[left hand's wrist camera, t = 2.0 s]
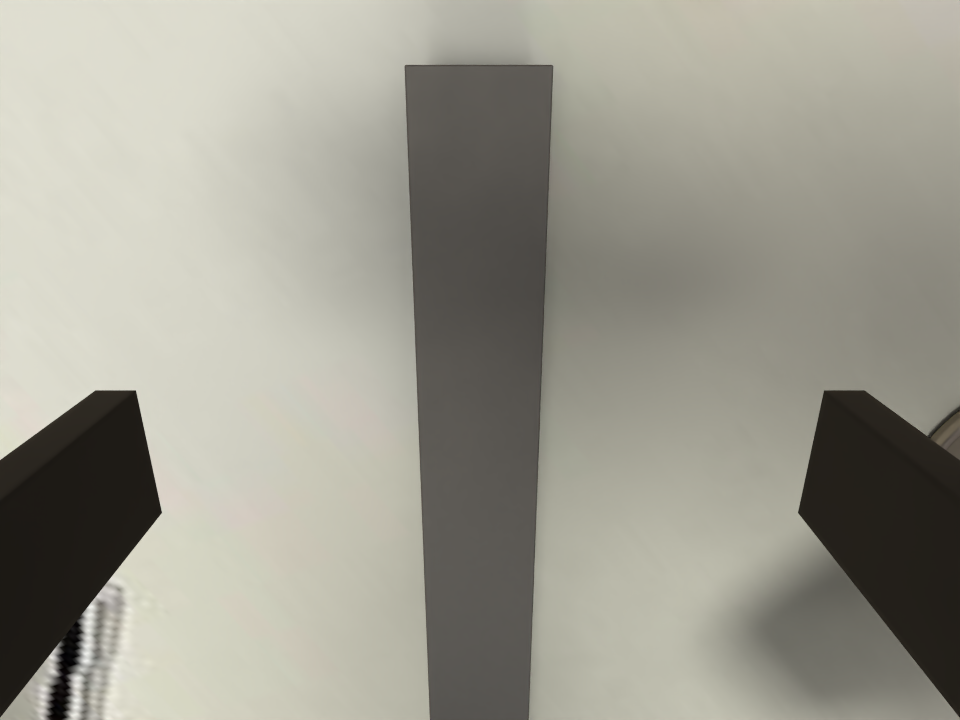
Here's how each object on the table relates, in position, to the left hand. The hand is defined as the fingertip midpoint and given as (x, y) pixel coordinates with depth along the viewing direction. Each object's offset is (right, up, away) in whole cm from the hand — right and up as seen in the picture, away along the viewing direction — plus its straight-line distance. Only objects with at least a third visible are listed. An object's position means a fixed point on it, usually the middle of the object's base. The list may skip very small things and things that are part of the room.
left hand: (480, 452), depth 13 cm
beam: (0, -11, +27) cm, 29 cm away
